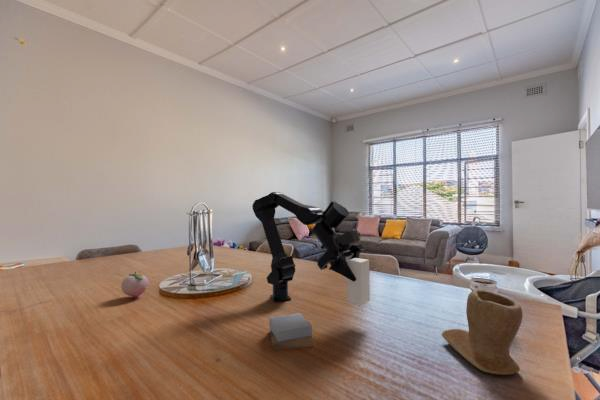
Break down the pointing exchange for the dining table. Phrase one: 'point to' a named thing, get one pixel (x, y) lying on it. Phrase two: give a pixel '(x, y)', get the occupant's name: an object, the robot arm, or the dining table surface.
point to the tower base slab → (291, 342)
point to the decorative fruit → (134, 285)
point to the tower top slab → (290, 327)
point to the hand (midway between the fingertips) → (359, 278)
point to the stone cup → (488, 332)
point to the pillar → (359, 281)
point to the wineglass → (483, 285)
